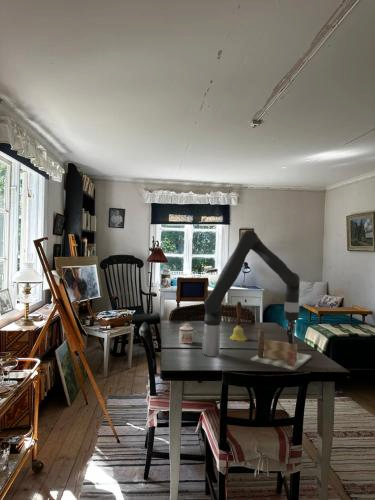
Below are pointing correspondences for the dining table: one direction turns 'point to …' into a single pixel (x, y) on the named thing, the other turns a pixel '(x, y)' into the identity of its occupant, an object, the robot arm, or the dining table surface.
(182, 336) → the teacup with lid
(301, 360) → the towel on rod
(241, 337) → the handbell
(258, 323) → the dining table surface
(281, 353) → the wooden panel
